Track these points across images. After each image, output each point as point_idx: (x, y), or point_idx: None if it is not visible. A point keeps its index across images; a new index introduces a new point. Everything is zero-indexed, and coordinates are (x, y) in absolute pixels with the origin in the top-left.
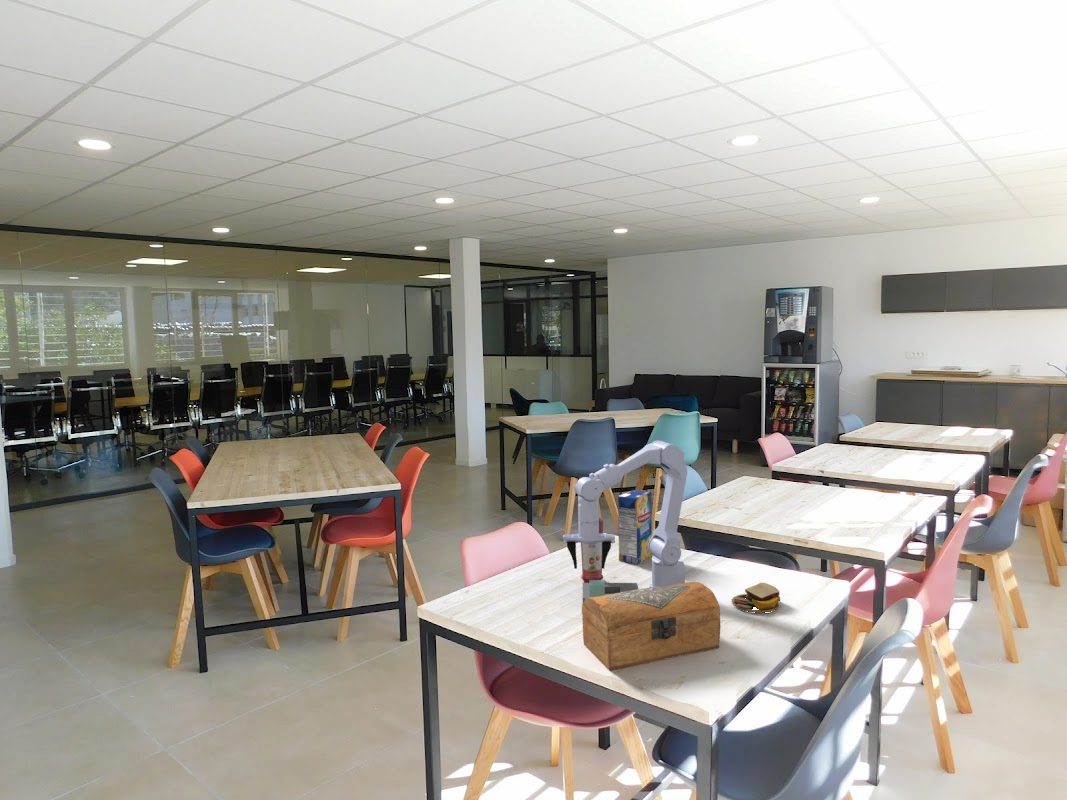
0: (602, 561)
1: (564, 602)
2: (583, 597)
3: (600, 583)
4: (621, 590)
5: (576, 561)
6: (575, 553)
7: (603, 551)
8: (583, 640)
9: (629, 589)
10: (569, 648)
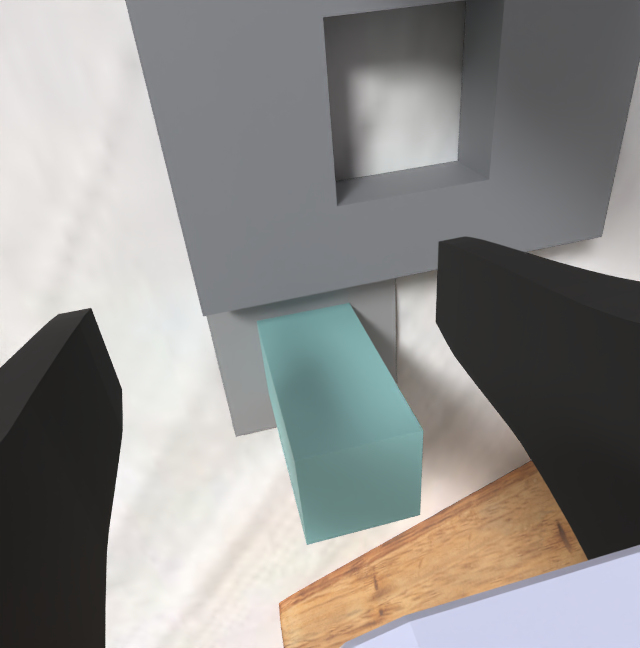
0: (490, 396)
1: (31, 231)
2: (206, 301)
3: (391, 493)
4: (503, 100)
5: (101, 434)
6: (98, 641)
7: (599, 546)
8: (280, 620)
9: (571, 62)
10: (230, 638)
